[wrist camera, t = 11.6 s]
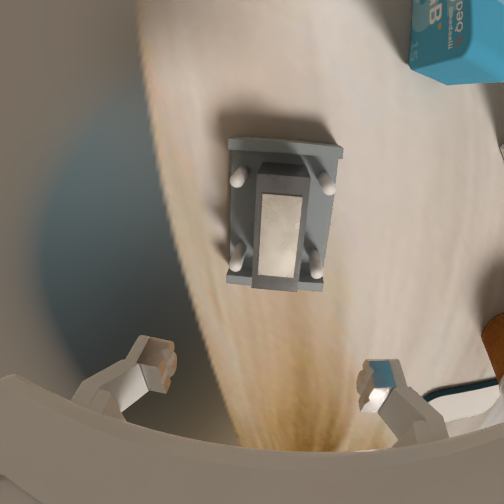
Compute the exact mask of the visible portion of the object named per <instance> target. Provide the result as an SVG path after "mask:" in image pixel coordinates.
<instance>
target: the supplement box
mask: <svg viewBox="0 0 504 504" xmlns="http://www.w3.org/2000/svg"><path fill="white" fill-rule="evenodd" d="M500 150H501V152H502V155H503V158H504V144H503V145H501V146H500Z"/></svg>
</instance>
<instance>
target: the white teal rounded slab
mask: <svg viewBox="0 0 504 504" xmlns="http://www.w3.org/2000/svg"><path fill="white" fill-rule="evenodd" d="M499 397H500V393H499V383H498V380H497V379H495V380H490V381H486V382H481V383H476V384H471V385H466V386H460V387H454V388H448V389H442V390H438V391H435V392H432V393H430V394H428V395H427V396H426V397H424V398H423V399H424V400H426V401H427V402H428V403H429V404H430V405H431V406H432V407H433V408H434V409H435V410H437V411H438V412H439V413H440V414H441V415H442V416H443V418H444V422H445V423H446V422H451V421H455V420H460V419H464V418H468V417H472V416H476V415H479V414H481V413H483V412H485V411H486V410H488V409H489V408H490V407H491V406H492V405H493V404H494V403H495V402H496V400H497V399H498V398H499Z"/></svg>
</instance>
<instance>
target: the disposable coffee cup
mask: <svg viewBox="0 0 504 504" xmlns="http://www.w3.org/2000/svg"><path fill="white" fill-rule="evenodd" d="M482 341H483V343H484V346H485V348H486V351H487V353H488V356H489V359H490V361H491V364H492V366H493V369H494V372H495V375H496V377H497V380H498V383H499V393H500V395H502V396H504V313H502V314H499V315H497V316H496V317H494V318H493V319H492V320H491V321H490V322H489V323H488V324H487V326H486V327H485V329H484V331H483V333H482Z"/></svg>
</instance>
